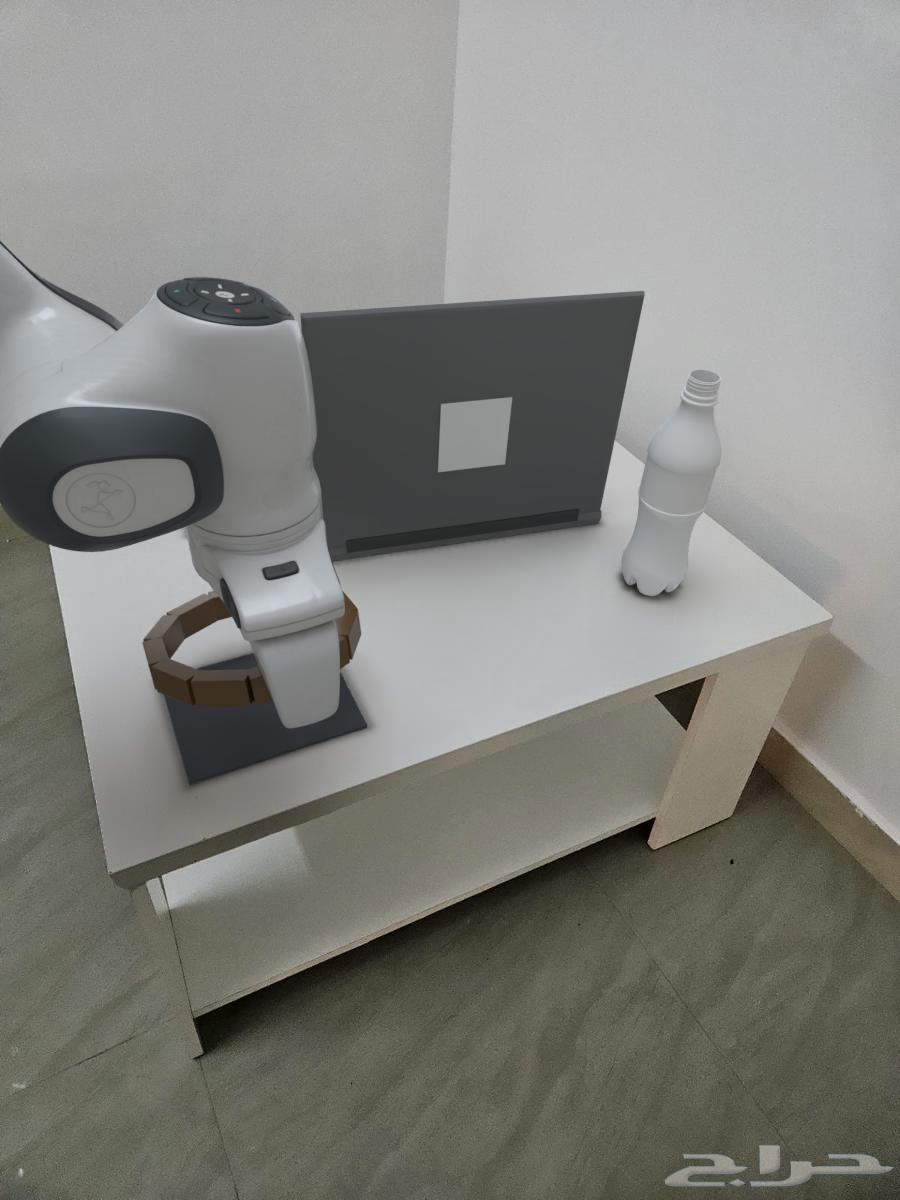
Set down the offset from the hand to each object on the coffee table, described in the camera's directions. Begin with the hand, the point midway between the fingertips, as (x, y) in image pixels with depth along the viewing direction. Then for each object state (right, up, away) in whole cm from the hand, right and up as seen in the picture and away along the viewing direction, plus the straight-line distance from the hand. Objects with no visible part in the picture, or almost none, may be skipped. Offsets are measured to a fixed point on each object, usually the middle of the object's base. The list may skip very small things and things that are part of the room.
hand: (276, 677), depth 63 cm
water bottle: (+36, +8, +30) cm, 47 cm away
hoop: (-3, +2, +7) cm, 8 cm away
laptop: (+11, +21, +43) cm, 50 cm away
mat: (-4, -4, +13) cm, 14 cm away
